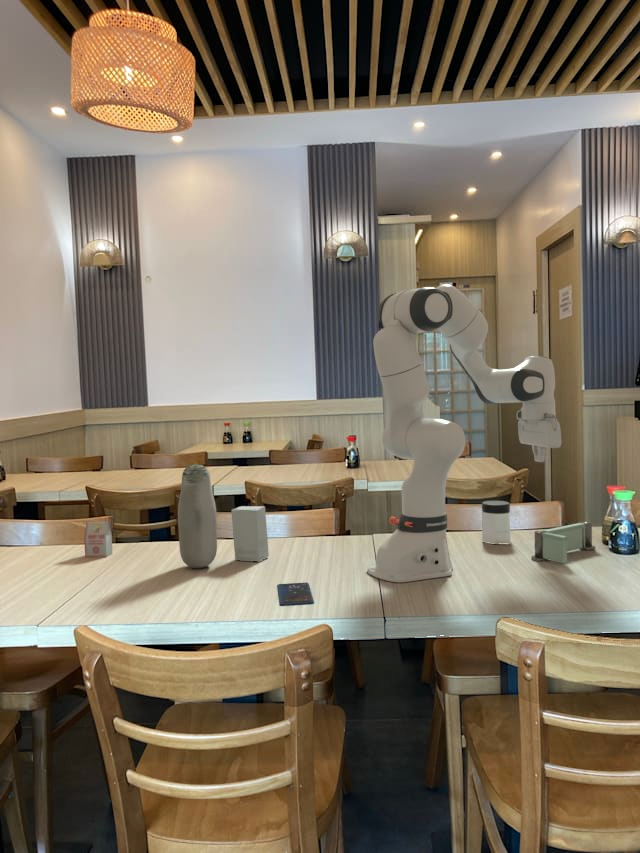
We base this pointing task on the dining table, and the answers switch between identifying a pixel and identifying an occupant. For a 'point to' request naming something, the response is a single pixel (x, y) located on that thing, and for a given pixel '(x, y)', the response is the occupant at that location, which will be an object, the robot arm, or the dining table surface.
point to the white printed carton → (98, 539)
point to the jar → (496, 522)
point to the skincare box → (250, 533)
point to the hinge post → (588, 536)
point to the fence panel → (554, 547)
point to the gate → (571, 535)
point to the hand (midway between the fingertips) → (539, 461)
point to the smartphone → (294, 594)
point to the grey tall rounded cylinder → (197, 518)
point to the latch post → (538, 547)
